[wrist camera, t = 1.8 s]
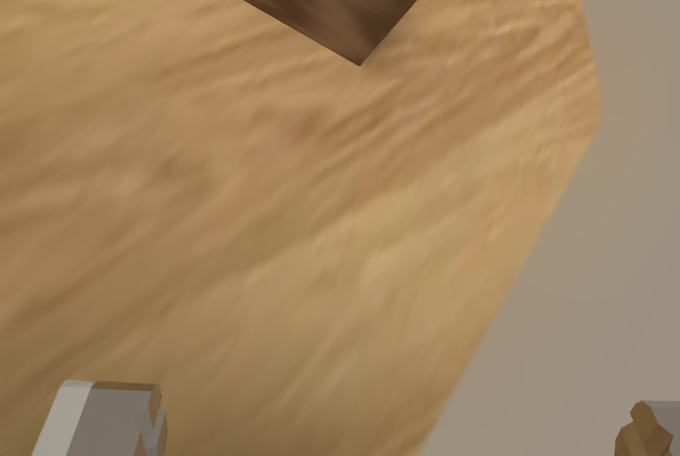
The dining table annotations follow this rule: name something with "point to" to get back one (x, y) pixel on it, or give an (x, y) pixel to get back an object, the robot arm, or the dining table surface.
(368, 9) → the t block
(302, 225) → the dining table surface
